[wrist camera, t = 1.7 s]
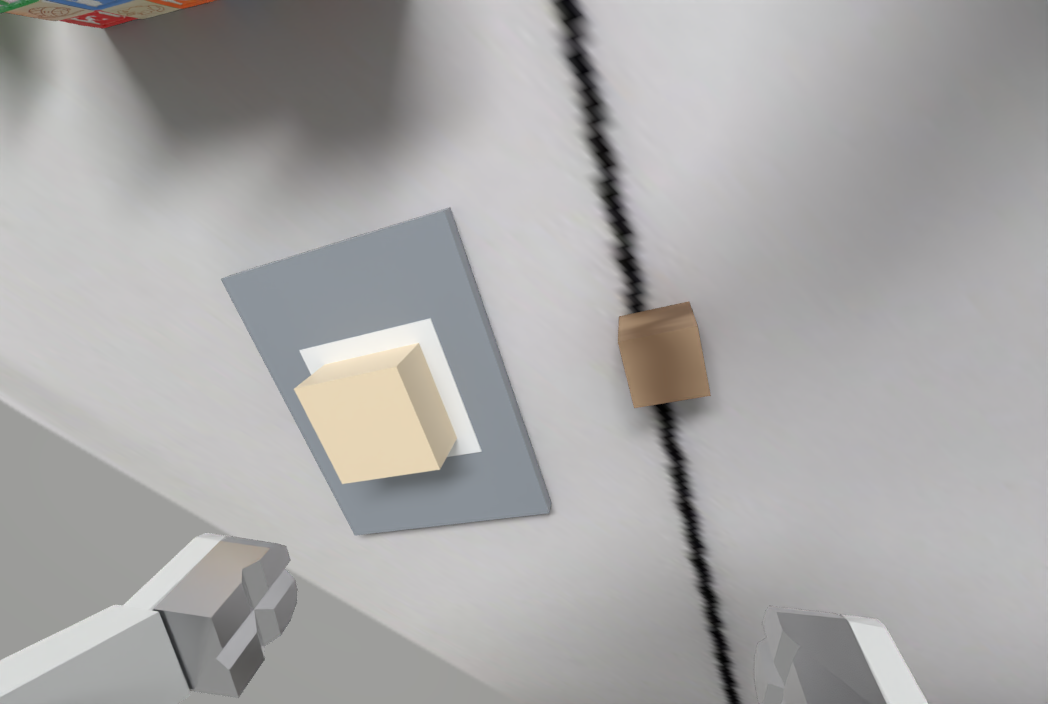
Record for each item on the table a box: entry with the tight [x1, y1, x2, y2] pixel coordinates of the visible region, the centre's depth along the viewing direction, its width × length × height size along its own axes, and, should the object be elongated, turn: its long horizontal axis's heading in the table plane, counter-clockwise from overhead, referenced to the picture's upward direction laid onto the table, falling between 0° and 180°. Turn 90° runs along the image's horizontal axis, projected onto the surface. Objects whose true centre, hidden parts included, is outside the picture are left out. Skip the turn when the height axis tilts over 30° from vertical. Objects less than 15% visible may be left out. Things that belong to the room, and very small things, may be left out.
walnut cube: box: [618, 302, 711, 408], centre depth 32 cm, size 4×4×4 cm
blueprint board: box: [221, 208, 551, 535], centre depth 37 cm, size 18×24×5 cm
